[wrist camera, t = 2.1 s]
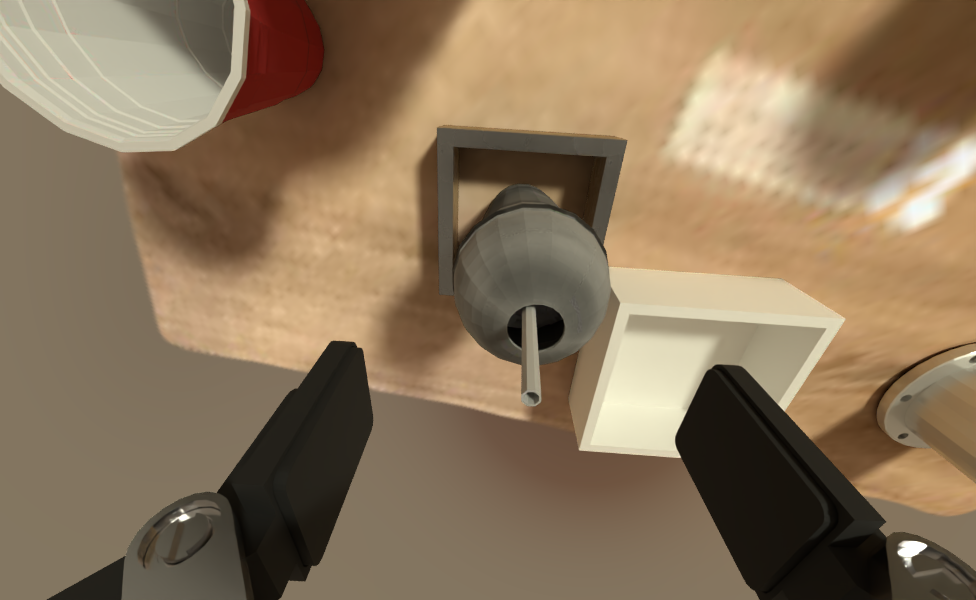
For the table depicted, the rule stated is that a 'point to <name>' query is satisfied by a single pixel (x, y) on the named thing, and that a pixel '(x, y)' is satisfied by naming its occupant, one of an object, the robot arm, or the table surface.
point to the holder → (453, 137)
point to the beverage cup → (531, 282)
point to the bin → (687, 351)
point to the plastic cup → (155, 64)
